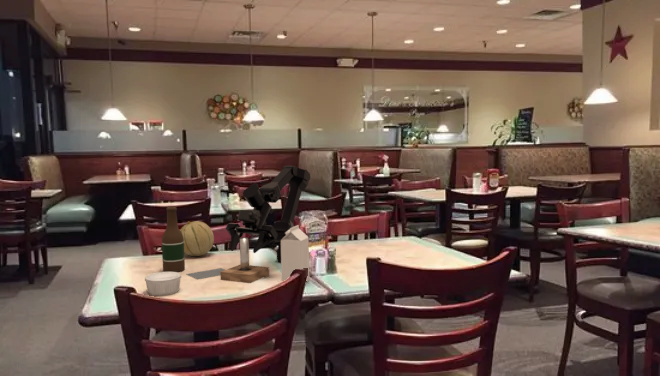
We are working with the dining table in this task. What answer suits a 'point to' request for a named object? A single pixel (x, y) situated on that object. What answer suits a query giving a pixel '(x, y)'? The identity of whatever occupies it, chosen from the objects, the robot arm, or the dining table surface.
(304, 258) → the milk carton
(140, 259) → the dining table surface
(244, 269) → the steel pin
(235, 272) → the socket block
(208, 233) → the cantaloupe
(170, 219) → the beer bottle
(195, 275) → the rubber mat
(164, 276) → the ramekin
